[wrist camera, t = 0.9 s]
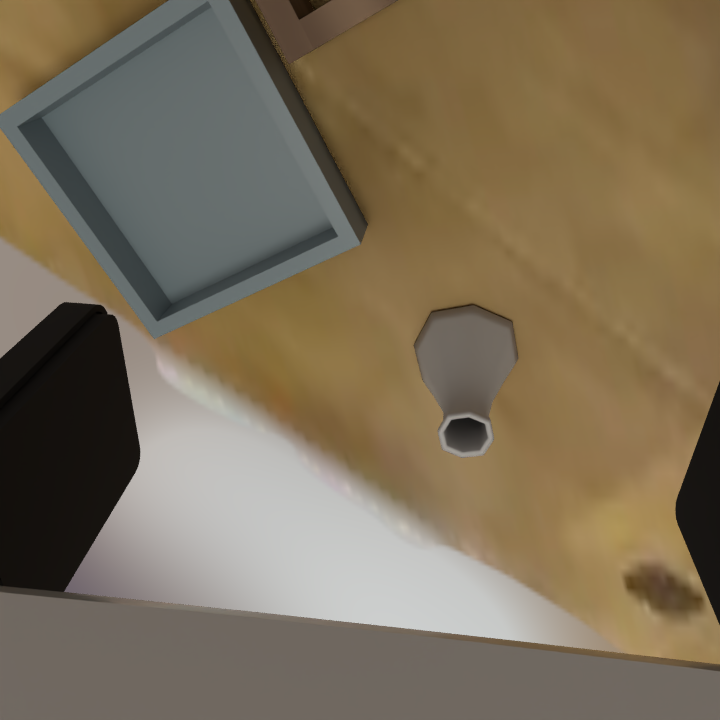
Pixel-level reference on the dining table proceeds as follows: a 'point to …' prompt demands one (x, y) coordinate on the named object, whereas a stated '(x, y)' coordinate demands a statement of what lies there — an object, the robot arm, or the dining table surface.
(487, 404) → the flask
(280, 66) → the slate tray
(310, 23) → the walnut tray
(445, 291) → the dining table surface
